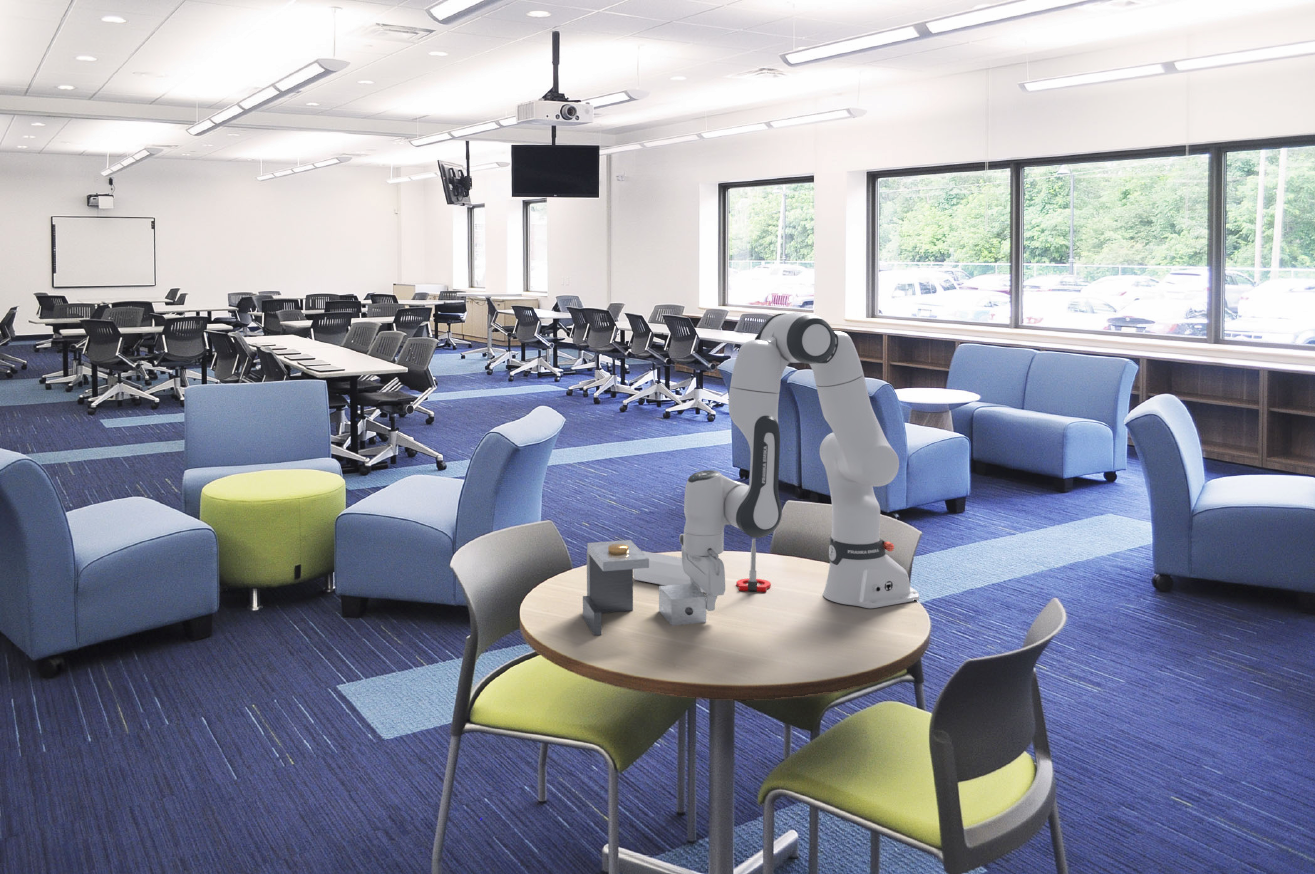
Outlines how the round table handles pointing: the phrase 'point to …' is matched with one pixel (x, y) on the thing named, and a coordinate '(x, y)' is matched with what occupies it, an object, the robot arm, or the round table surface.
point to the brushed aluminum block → (682, 604)
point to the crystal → (663, 570)
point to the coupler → (610, 579)
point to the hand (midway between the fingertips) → (703, 603)
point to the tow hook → (753, 576)
